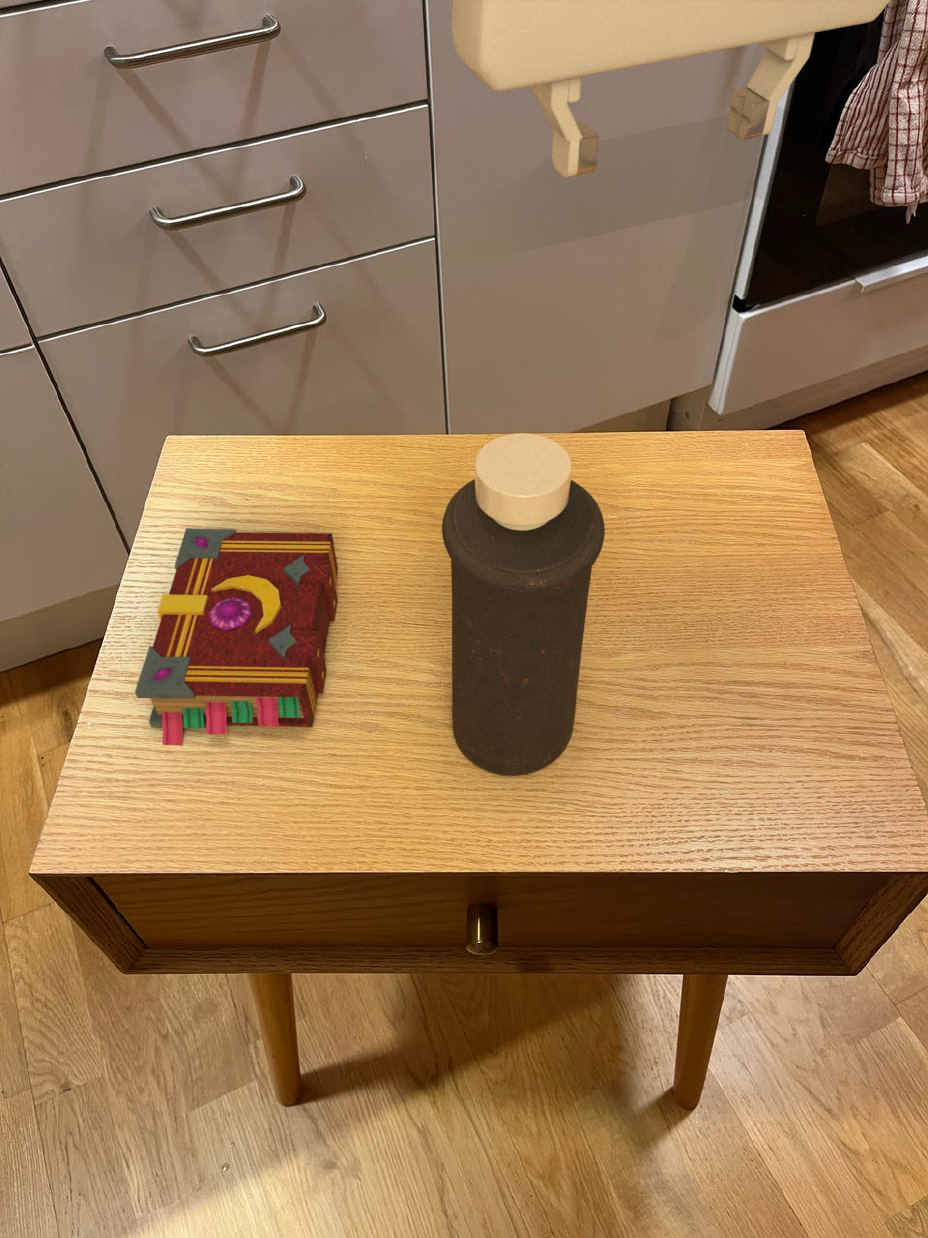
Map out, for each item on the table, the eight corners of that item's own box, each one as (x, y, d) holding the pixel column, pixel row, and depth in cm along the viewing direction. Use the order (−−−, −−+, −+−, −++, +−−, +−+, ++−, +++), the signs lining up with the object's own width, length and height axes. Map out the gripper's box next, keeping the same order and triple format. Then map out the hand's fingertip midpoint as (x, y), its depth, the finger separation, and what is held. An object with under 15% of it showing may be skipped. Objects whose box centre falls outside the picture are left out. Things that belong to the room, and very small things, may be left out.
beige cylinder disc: (586, 502, 50) (590, 457, 48) (531, 554, 48) (533, 510, 45) (512, 464, 52) (513, 420, 50) (456, 513, 50) (455, 468, 47)
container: (596, 697, 66) (630, 478, 51) (548, 802, 61) (570, 593, 46) (482, 656, 69) (482, 436, 54) (427, 754, 64) (409, 540, 48)
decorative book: (342, 571, 75) (335, 524, 71) (315, 747, 64) (304, 704, 60) (198, 569, 75) (182, 523, 71) (147, 744, 65) (126, 701, 61)
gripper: (484, -183, 31) (486, 225, 42) (993, -244, 36) (879, 138, 46) (418, -218, 35) (436, 164, 46) (886, -269, 39) (803, 90, 50)
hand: (662, 151), depth 46 cm, fingers open, 8 cm apart
